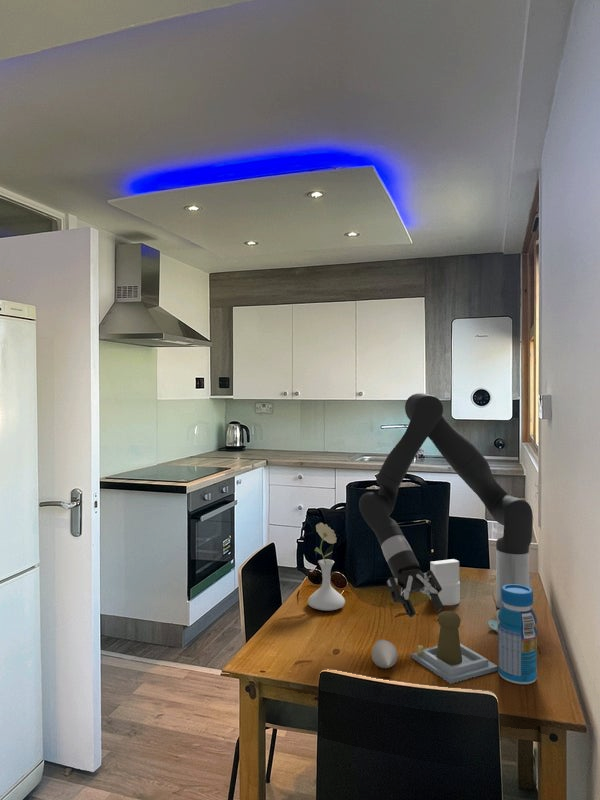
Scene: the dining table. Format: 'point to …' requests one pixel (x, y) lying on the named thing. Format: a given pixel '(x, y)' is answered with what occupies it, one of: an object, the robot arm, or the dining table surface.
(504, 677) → the beverage bottle
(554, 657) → the dining table surface
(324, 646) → the dining table surface
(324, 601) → the flower in vase
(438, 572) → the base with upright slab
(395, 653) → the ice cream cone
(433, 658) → the board
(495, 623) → the pacifier
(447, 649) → the cork
